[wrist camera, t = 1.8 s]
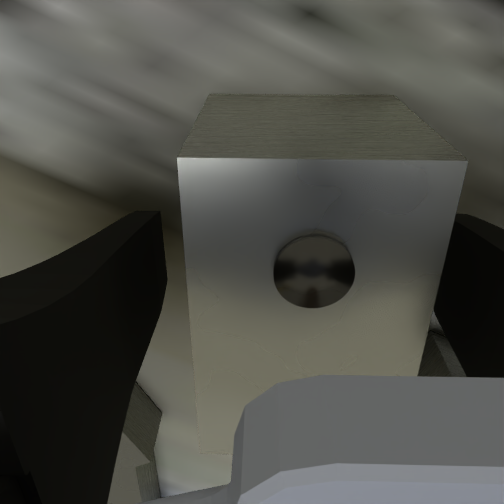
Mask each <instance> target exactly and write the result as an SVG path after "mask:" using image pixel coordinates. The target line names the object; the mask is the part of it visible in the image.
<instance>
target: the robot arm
mask: <svg viewBox="0 0 504 504" xmlns="http://www.w3.org/2000/svg"><path fill="white" fill-rule="evenodd" d="M166 285H167V270H166V261H165V251H164V242H163V233H162V223H161V214H160V211H135V212H133V213H130V214H128V215H127V216H125V217H123V218H121V219H120V220H118V221H116V222H115V223H113V224H111V225H110V226H108V227H106V228H105V229H103V230H101V231H100V232H98V233H96V234H95V235H93V236H91V237H90V238H88V239H86V240H84V241H82V242H81V243H79V244H77V245H75V246H73V247H71V248H69V249H68V250H66V251H64V252H62V253H60V254H58V255H56V256H54V257H52V258H50V259H48V260H46V261H43V262H41V263H39V264H36V265H34V266H32V267H29V268H27V269H24V270H22V271H19V272H17V273H14V274H11V275H8V276H5V277H2V278H0V504H107V503H108V498H109V493H110V488H111V483H112V478H113V473H114V468H115V463H116V459H117V454H118V450H119V445H120V441H121V436H122V432H123V427H124V423H125V419H126V415H127V411H128V407H129V402H130V398H131V394H132V391H133V388H134V385H135V382H136V378H137V376H138V373H139V370H140V368H141V365H142V362H143V360H144V357H145V354H146V351H147V349H148V346H149V343H150V341H151V338H152V335H153V333H154V330H155V327H156V324H157V321H158V319H159V316H160V313H161V310H162V305H163V300H164V296H165V290H166ZM433 309H434V312H435V315H436V317H437V319H438V321H439V323H440V325H441V327H442V329H443V331H444V333H445V335H446V337H447V339H448V341H449V343H450V345H451V347H452V349H453V351H454V353H455V355H456V357H457V359H458V361H459V363H460V365H461V366H462V368H463V370H464V372H465V374H466V376H467V377H422V376H364V375H319V376H313V377H308V378H302V379H296V380H291V381H285V382H280V383H277V384H275V385H274V386H272V387H271V388H270V389H268V390H267V391H265V392H264V393H262V394H261V395H260V396H258V397H257V398H255V399H254V400H252V401H251V402H249V403H248V404H247V405H245V407H244V410H243V412H242V415H241V418H240V421H239V423H238V426H237V429H236V431H235V434H234V446H233V460H232V475H231V482H230V483H229V484H227V485H222V486H217V487H212V488H207V489H203V490H198V491H193V492H188V493H183V494H179V495H174V496H169V497H164V498H159V499H155V500H150V501H145V502H140V503H135V504H504V230H503V229H501V228H499V227H497V226H495V225H493V224H490V223H488V222H486V221H483V220H481V219H479V218H476V217H473V216H470V215H466V214H456V215H455V220H454V224H453V228H452V232H451V236H450V241H449V245H448V249H447V253H446V257H445V262H444V266H443V270H442V274H441V278H440V283H439V287H438V291H437V295H436V300H435V304H434V308H433Z"/></svg>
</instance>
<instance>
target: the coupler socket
mask: <svg viewBox="0 0 504 504" xmlns="http://www.w3.org/2000/svg"><path fill="white" fill-rule="evenodd" d="M417 376H422V377H467V376H466V374H465V372H464V370H463V368H462V366H461V365H460V363H459V361H458V359H457V357H456V355H455V353H454V351H453V349H452V347H451V345H450V343H449V341H448V339H447V338H446V337H443V336H441V335H439V334H437V333H434V332H432V331H430V332H429V333H428V334H427V337H426V342H425V346H424V350H423V354H422V358H421V363H420V367H419V371H418V375H417ZM161 416H162V413H161V412H160V411H159V409H158V408H157V407H156V406H155V405H154V403H153V402H152V401H151V400H150V399H149V397H148V396H147V395H146V394H145V393H144V391H143V390H142V389H141V388H140V387H139V385H138V384H137V383H136V382H135V385H134V388H133V391H132V394H131V398H130V402H129V407H128V411H127V415H126V419H125V423H124V427H123V432H122V436H121V441H120V445H119V450H118V454H117V459H116V463H115V468H114V473H113V478H112V483H111V488H110V493H109V498H108V503H107V504H135V503H140V502H145V501H150V500H155V499H159V498H161V497H160V490H159V484H158V478H157V471H156V465H155V459H154V452H153V450H154V446H155V441H156V437H157V433H158V429H159V425H160V421H161Z"/></svg>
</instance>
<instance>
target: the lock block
mask: <svg viewBox="0 0 504 504" xmlns="http://www.w3.org/2000/svg"><path fill="white" fill-rule="evenodd" d="M177 165H178V178H179V191H180V204H181V216H182V229H183V242H184V255H185V268H186V280H187V293H188V306H189V319H190V332H191V345H192V357H193V370H194V383H195V396H196V409H197V421H198V434H199V447H200V454H233V446H234V434H235V431H236V429H237V426H238V423H239V421H240V418H241V415H242V412H243V410H244V407H245V405H247V404H248V403H249V402H251V401H252V400H254V399H255V398H257V397H258V396H260V395H261V394H262V393H264V392H265V391H267V390H268V389H270V388H271V387H272V386H274V385H275V384H277V383H280V382H285V381H291V380H296V379H302V378H308V377H313V376H319V375H364V376H417V375H418V371H419V367H420V363H421V358H422V354H423V350H424V346H425V342H426V337H427V333H428V329H429V325H430V321H431V316H432V312H433V308H434V304H435V300H436V295H437V291H438V287H439V283H440V278H441V274H442V270H443V266H444V262H445V257H446V253H447V249H448V245H449V241H450V236H451V232H452V228H453V224H454V220H455V215H456V211H457V207H458V203H459V199H460V194H461V190H462V186H463V182H464V178H465V173H466V169H467V165H468V160H467V159H466V158H465V157H463V156H462V155H461V154H460V153H459V152H458V151H457V150H455V149H454V148H453V147H452V146H451V145H450V144H449V143H447V142H446V141H445V140H444V139H443V138H442V137H441V136H440V135H438V134H437V133H436V132H435V131H434V130H433V129H432V128H430V127H429V126H428V125H427V124H426V123H425V122H424V121H422V120H421V119H420V118H419V117H418V116H417V115H416V114H414V113H413V112H412V111H411V110H410V109H409V108H408V107H406V106H405V105H404V104H403V103H402V102H401V101H400V100H399V99H397V98H396V97H395V96H394V95H295V94H209V96H208V98H207V100H206V101H205V103H204V105H203V107H202V109H201V111H200V113H199V115H198V117H197V119H196V121H195V123H194V125H193V127H192V129H191V131H190V133H189V135H188V137H187V139H186V141H185V143H184V145H183V147H182V149H181V151H180V153H179V155H178V157H177Z"/></svg>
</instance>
